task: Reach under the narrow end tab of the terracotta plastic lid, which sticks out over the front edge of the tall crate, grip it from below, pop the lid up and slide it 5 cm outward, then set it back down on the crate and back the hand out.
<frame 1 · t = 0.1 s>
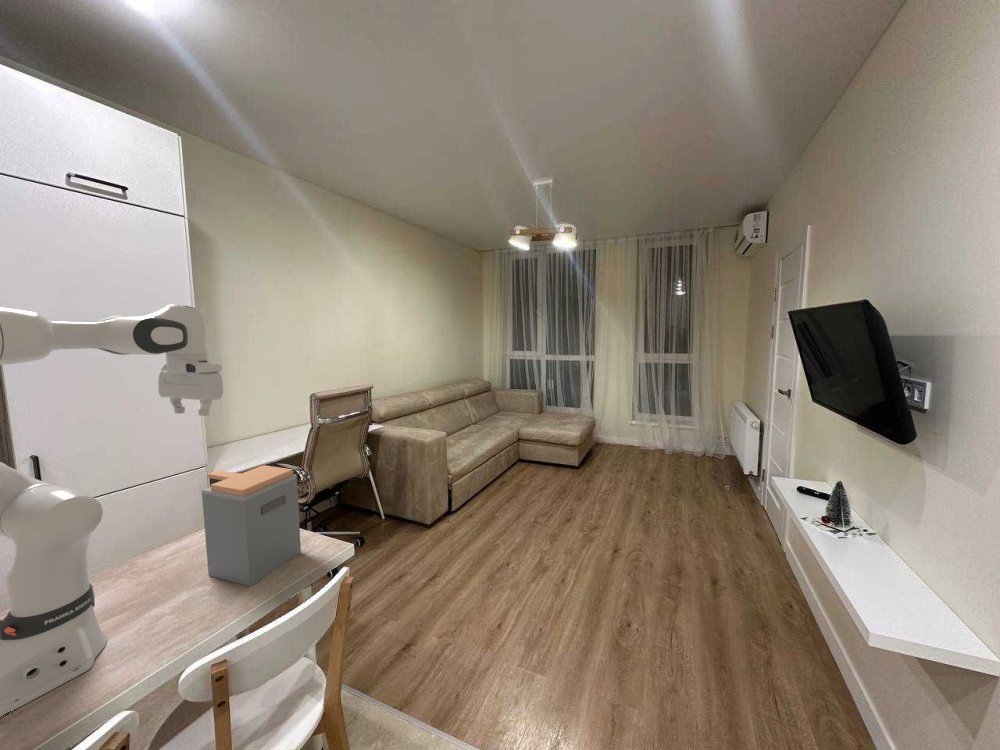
hand: (191, 414, 108), 48 cm above the table, tool pointing down, fingers open, 8 cm apart
lid: (254, 482, 116), point 26 cm above the table, touching crate
crate: (257, 563, 119), on the table
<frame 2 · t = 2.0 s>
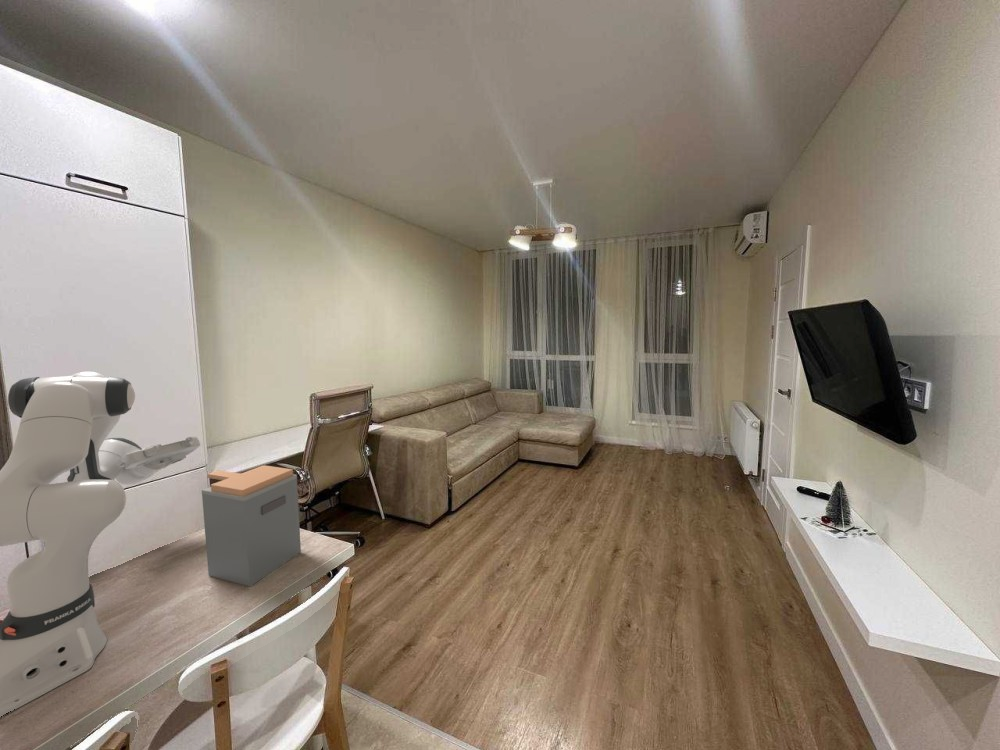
hand: (176, 442, 125), 35 cm above the table, tool pointing upward, fingers open, 8 cm apart
nothing on the table moved.
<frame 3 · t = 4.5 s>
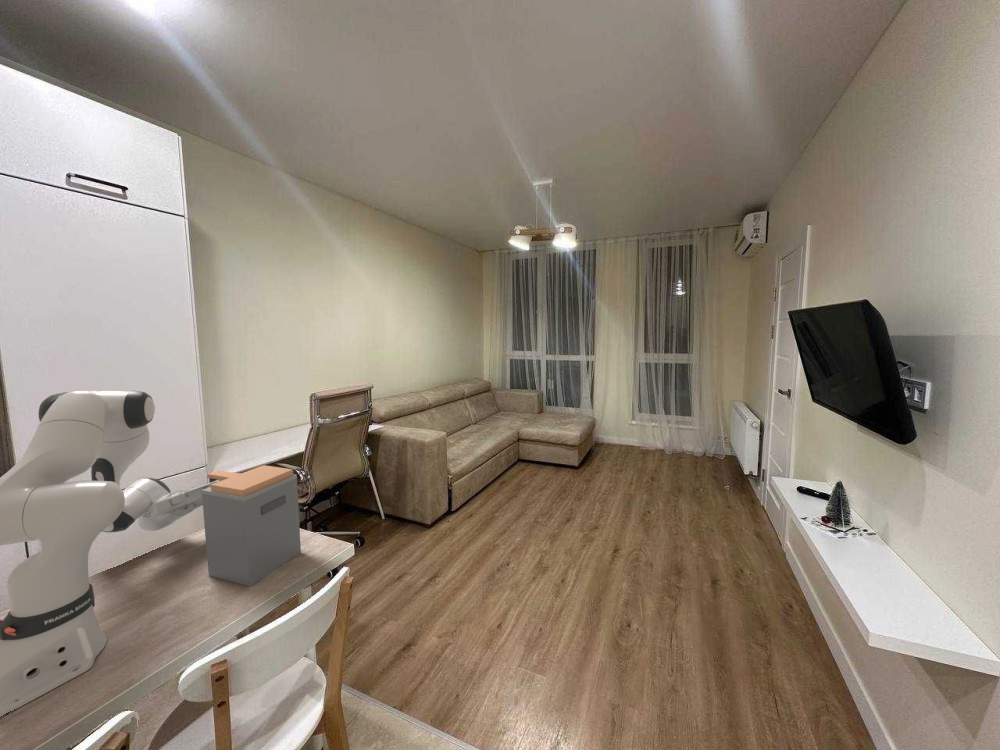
hand: (201, 488, 123), 21 cm above the table, tool pointing upward, fingers open, 8 cm apart
nothing on the table moved.
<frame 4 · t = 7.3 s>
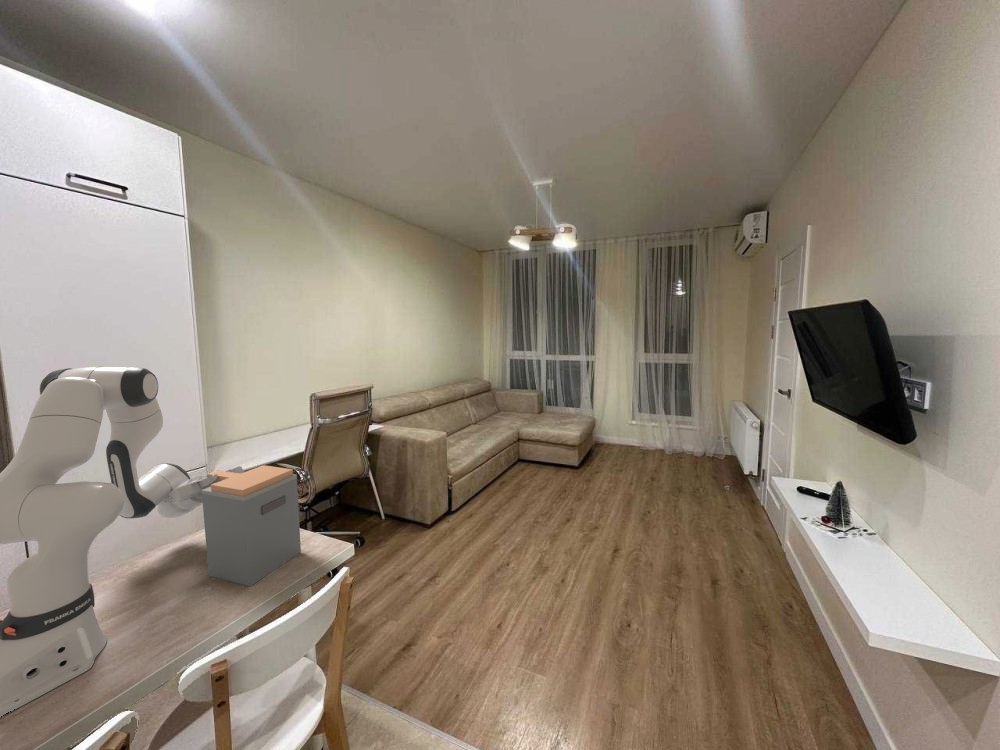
hand: (223, 474, 119), 27 cm above the table, tool pointing upward, fingers closed on lid, 3 cm apart
lid: (254, 482, 116), point 26 cm above the table, touching crate, gripper
everything else where it was.
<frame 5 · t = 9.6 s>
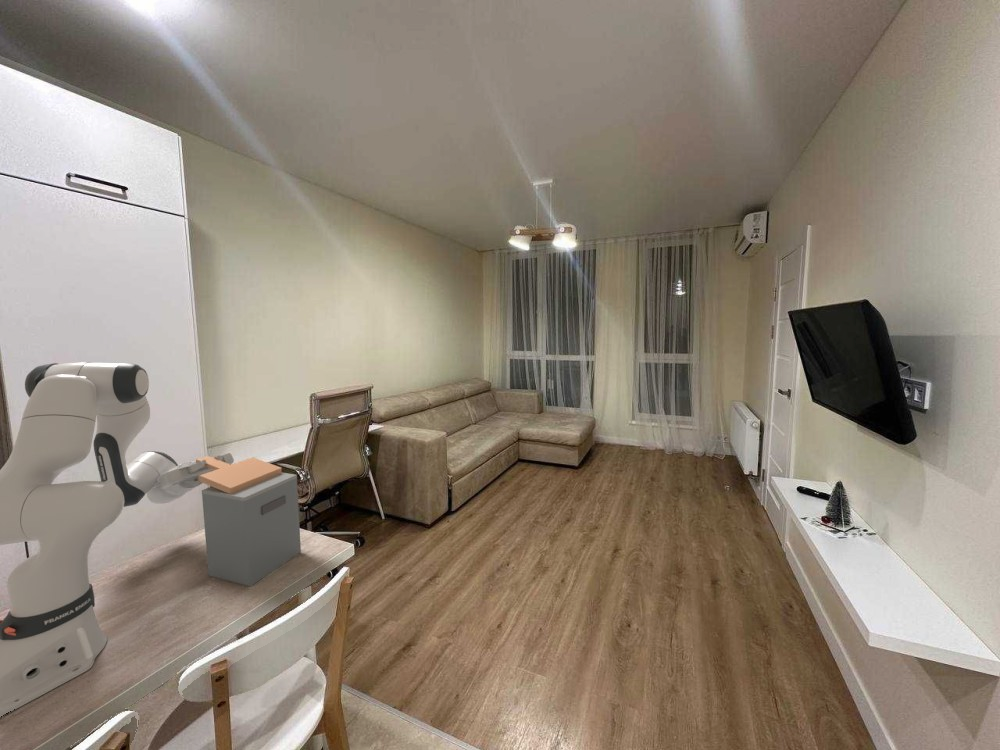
hand: (212, 460, 120), 31 cm above the table, tool pointing upward, fingers closed on lid, 3 cm apart
lid: (242, 476, 117), point 27 cm above the table, tilted 11°, touching gripper
everything else where it was.
when the fingers open (28 cm above the table, at t = 10.7 s): lid stays where it is, resting on crate.
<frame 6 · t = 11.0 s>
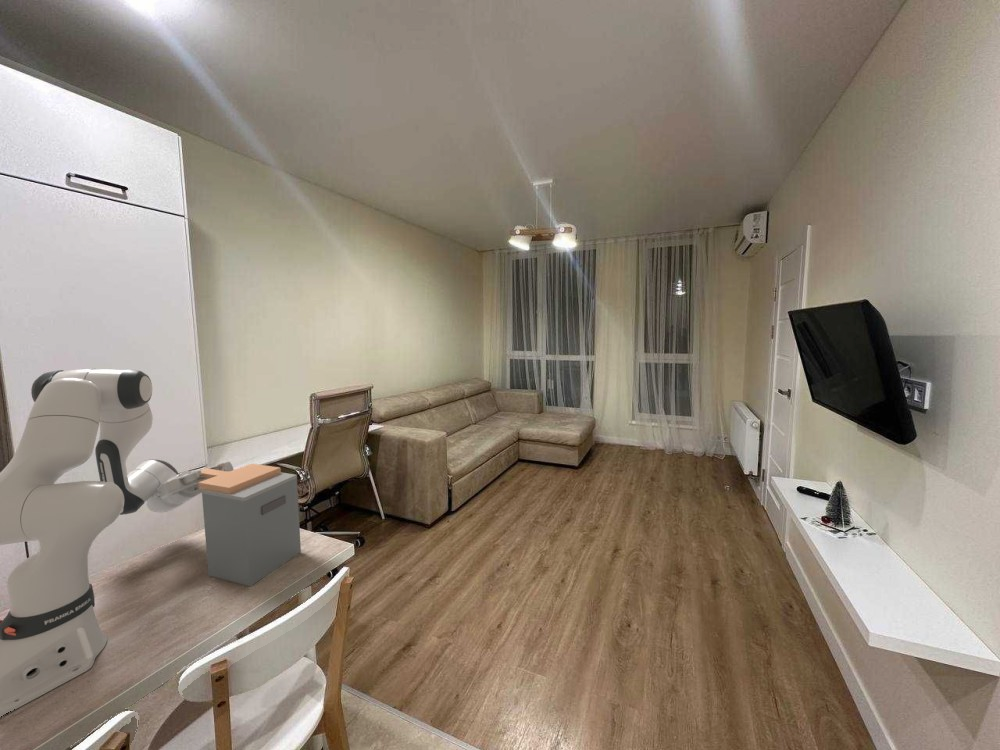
hand: (211, 469, 121), 28 cm above the table, tool pointing upward, fingers open, 6 cm apart
lid: (241, 480, 117), point 26 cm above the table, touching crate
everything else where it was.
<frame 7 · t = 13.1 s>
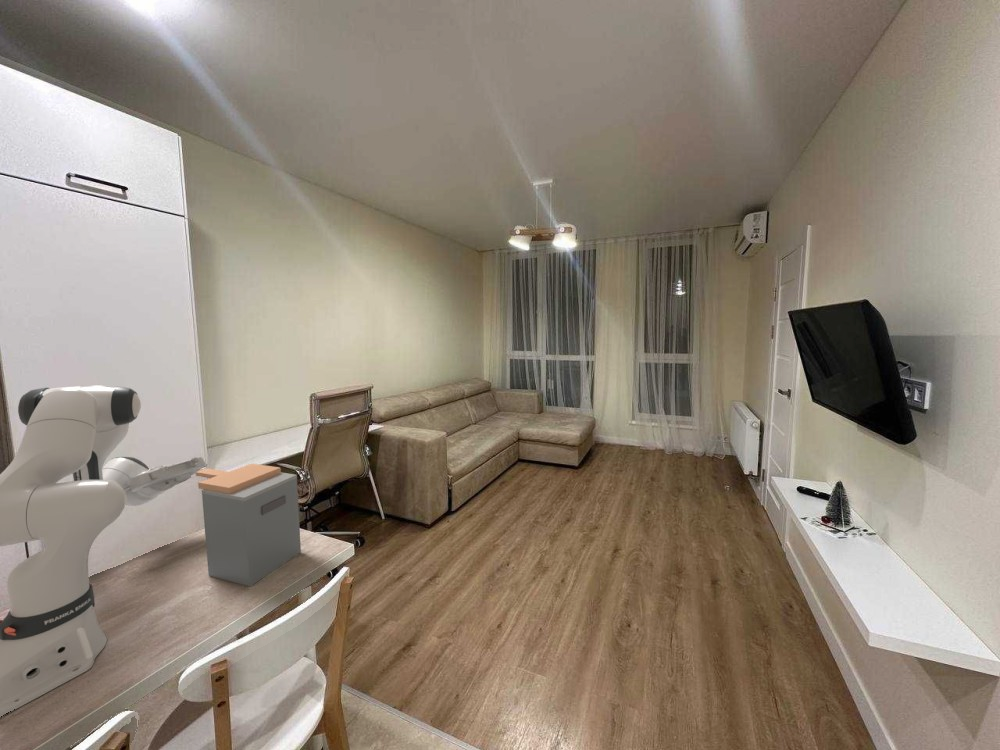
hand: (181, 463, 125), 28 cm above the table, tool pointing upward, fingers open, 8 cm apart
nothing on the table moved.
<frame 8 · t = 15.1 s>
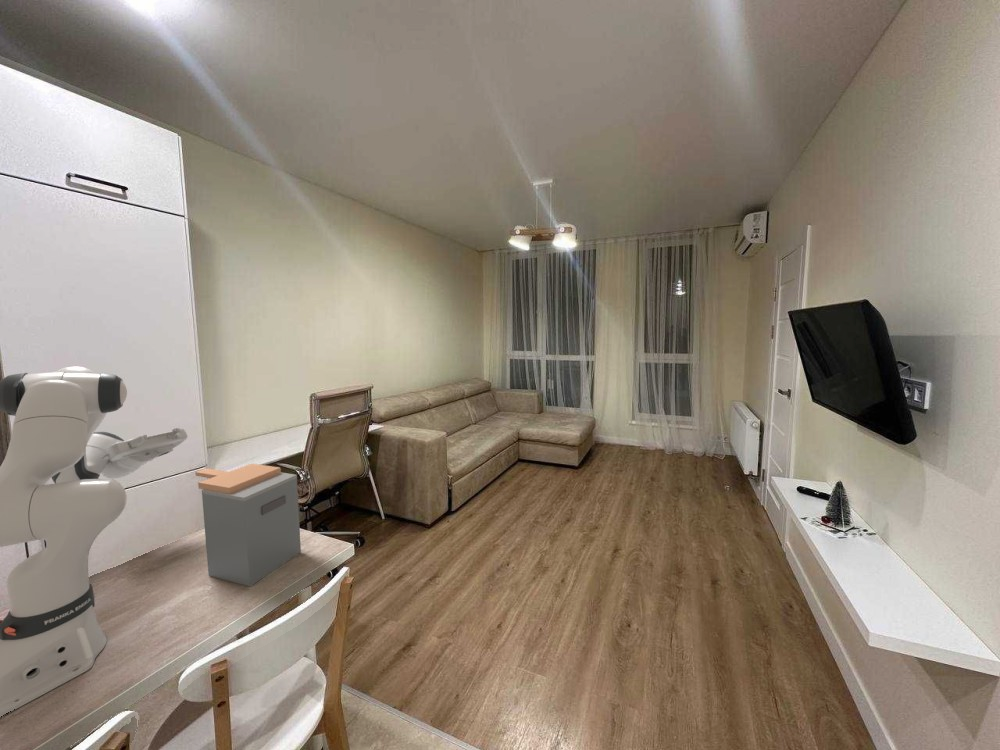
hand: (162, 433, 123), 38 cm above the table, tool pointing upward, fingers open, 8 cm apart
nothing on the table moved.
at the end: lid moved 5.0 cm from its start; lid inside the target area (1.5 cm from its centre), point 26.0 cm above the table; the gripper is holding nothing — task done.
